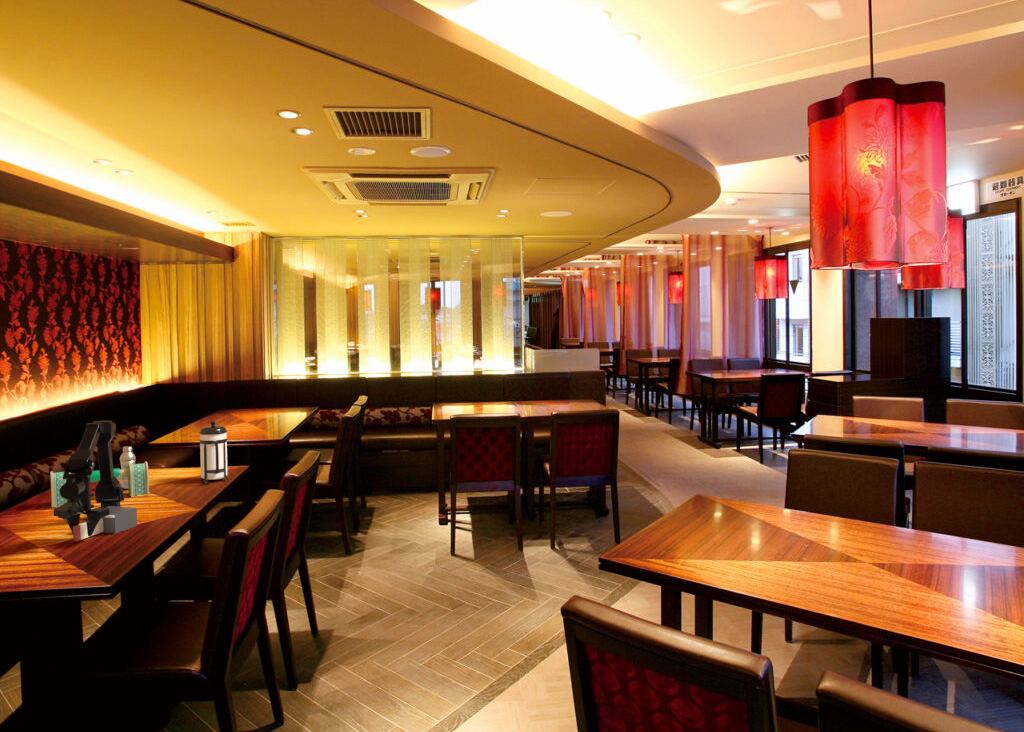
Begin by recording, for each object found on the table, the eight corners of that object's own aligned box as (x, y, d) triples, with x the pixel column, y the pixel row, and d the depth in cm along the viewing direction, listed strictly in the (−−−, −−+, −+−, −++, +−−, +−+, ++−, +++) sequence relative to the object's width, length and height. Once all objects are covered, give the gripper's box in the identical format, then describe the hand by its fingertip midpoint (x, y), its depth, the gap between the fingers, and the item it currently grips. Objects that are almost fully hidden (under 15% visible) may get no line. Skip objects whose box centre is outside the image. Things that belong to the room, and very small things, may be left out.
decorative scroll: (146, 491, 294) (145, 460, 293) (149, 495, 287) (148, 463, 286) (51, 504, 272) (50, 470, 271) (51, 508, 265) (50, 473, 265)
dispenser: (110, 523, 244) (110, 505, 243) (137, 525, 241) (136, 507, 241) (85, 532, 233) (85, 513, 233) (113, 534, 230) (112, 515, 230)
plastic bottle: (129, 490, 295) (128, 448, 294) (117, 489, 296) (115, 447, 295) (140, 487, 301) (139, 445, 300) (128, 486, 303) (126, 445, 302)
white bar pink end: (118, 525, 241) (117, 511, 240) (121, 525, 240) (120, 511, 240) (73, 541, 222) (72, 526, 222) (76, 541, 222) (76, 526, 222)
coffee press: (189, 483, 310) (187, 422, 309) (213, 476, 325) (211, 418, 324) (218, 485, 305) (216, 424, 304) (241, 478, 320) (239, 419, 319)
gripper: (38, 496, 218) (39, 540, 219) (82, 499, 214) (84, 544, 215) (67, 488, 229) (68, 531, 230) (110, 491, 225) (111, 534, 226)
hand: (82, 535), depth 225 cm, fingers open, 6 cm apart
